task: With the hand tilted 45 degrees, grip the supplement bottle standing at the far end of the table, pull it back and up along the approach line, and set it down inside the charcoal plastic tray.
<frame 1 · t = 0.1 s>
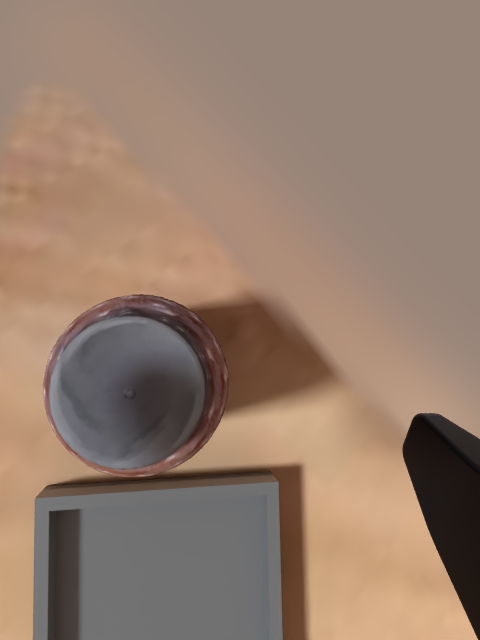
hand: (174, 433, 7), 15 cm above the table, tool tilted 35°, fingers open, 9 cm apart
tray: (163, 592, 21), on the table
supplement bottle: (153, 372, 22), on the table
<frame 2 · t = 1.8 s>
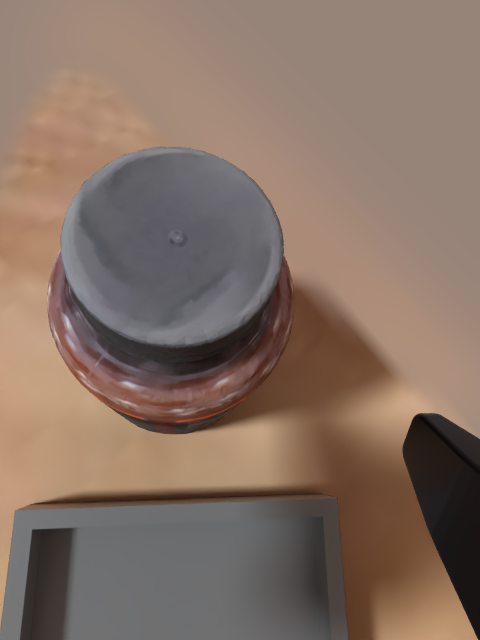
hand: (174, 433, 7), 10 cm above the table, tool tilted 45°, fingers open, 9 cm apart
supplement bottle: (175, 364, 18), on the table
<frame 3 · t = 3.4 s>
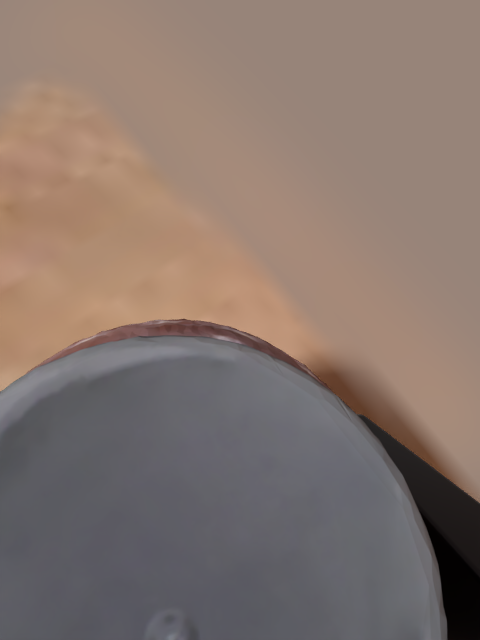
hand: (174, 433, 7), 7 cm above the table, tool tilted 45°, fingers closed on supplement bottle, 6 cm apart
supplement bottle: (173, 484, 14), on the table, touching gripper
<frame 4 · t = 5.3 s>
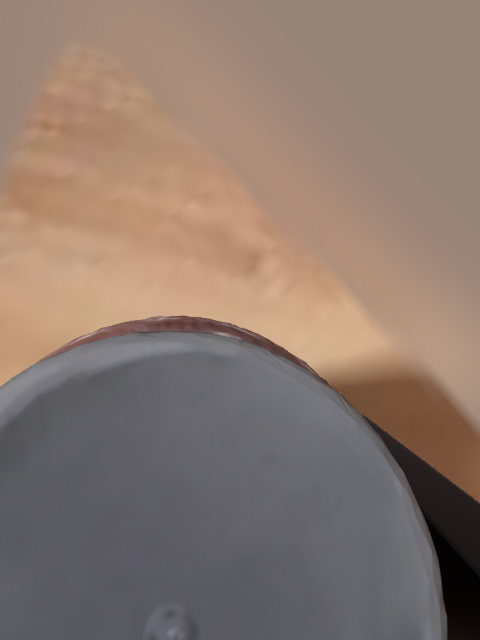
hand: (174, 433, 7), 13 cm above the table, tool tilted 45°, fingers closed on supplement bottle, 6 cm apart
supplement bottle: (174, 482, 14), point 6 cm above the table, touching gripper
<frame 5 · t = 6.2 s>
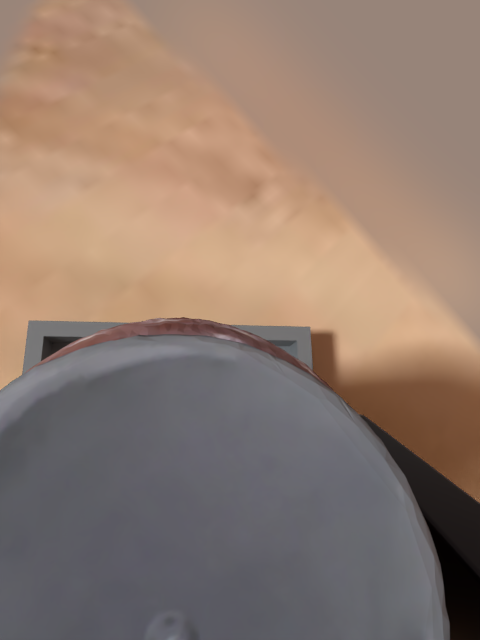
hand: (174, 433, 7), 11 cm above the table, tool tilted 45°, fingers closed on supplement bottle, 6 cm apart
tray: (172, 467, 17), on the table
supplement bottle: (174, 483, 14), point 4 cm above the table, touching gripper
when the fingers open (8 cm above the table, at t = 7.2 s): supplement bottle drops 1 cm, resting on tray.
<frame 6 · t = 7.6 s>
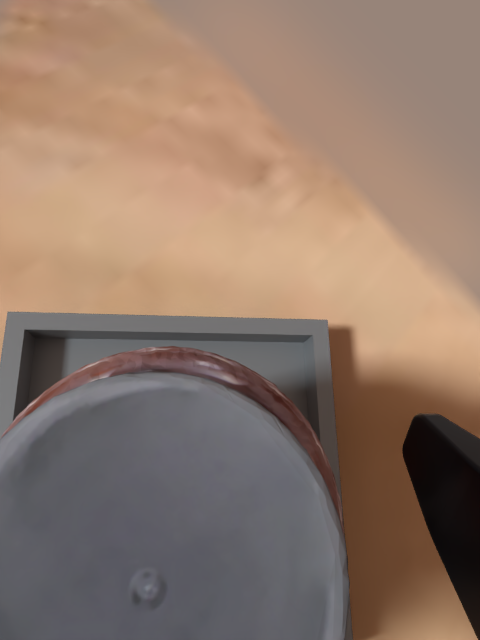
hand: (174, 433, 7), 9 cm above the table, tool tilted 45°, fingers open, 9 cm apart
tray: (172, 480, 15), on the table
supplement bottle: (173, 487, 15), resting on tray
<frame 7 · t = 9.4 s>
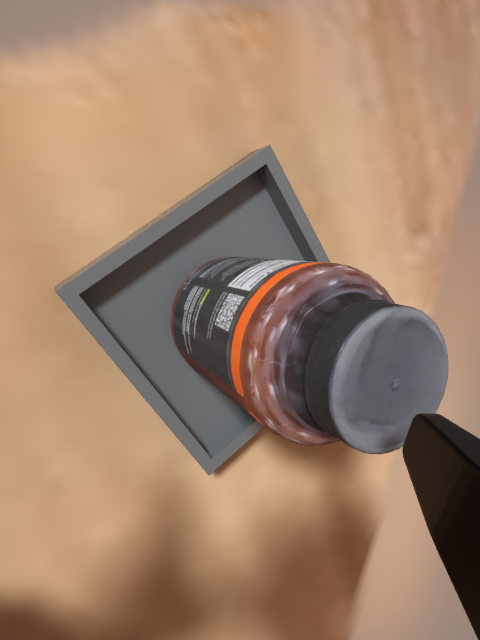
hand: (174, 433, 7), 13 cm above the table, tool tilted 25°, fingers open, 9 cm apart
tray: (223, 311, 22), on the table
supplement bottle: (224, 315, 21), resting on tray
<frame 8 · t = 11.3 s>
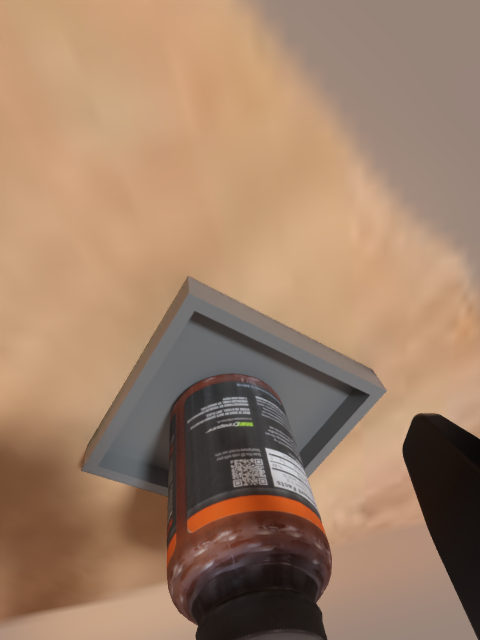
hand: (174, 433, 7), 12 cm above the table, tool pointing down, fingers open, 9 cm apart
tray: (230, 407, 23), on the table
supplement bottle: (227, 411, 22), resting on tray
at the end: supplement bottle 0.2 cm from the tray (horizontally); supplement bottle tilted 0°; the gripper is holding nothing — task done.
